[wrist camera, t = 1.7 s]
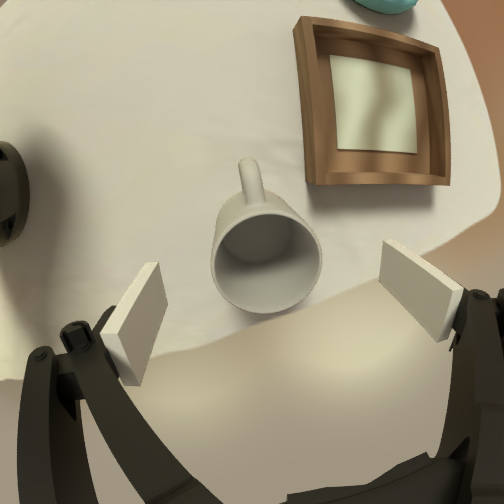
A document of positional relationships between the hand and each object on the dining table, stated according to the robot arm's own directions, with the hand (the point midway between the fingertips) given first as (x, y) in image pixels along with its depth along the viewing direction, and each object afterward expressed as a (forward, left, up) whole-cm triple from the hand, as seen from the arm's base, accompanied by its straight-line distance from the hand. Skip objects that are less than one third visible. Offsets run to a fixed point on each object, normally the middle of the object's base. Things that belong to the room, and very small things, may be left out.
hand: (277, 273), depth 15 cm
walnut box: (+15, +12, -16) cm, 25 cm away
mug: (0, 0, -16) cm, 16 cm away
